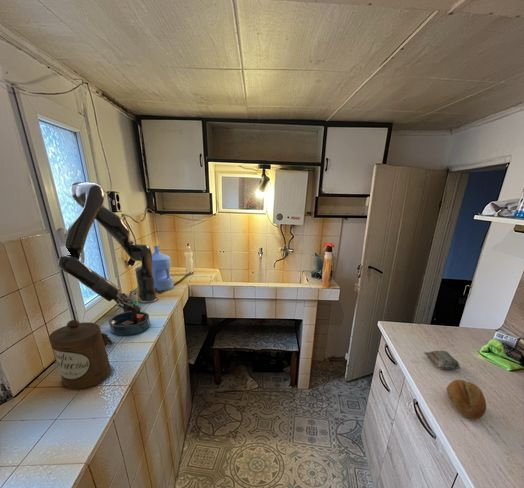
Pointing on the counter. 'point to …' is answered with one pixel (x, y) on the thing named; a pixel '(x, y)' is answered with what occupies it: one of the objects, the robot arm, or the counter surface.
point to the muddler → (134, 316)
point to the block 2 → (140, 317)
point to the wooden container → (80, 354)
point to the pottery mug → (106, 339)
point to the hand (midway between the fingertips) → (139, 311)
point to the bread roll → (467, 398)
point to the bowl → (131, 329)
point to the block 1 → (127, 323)
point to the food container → (133, 297)
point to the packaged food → (443, 359)
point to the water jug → (161, 270)
